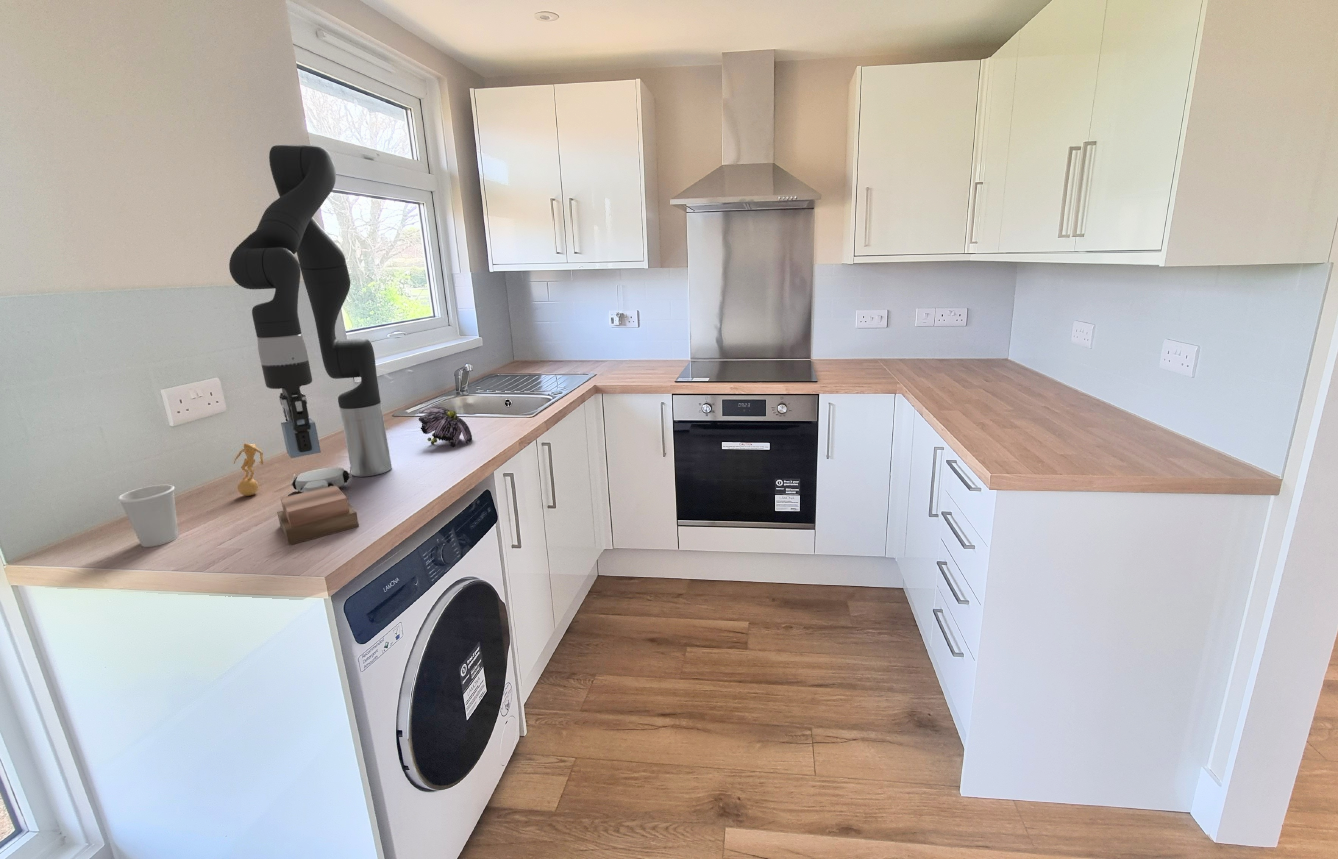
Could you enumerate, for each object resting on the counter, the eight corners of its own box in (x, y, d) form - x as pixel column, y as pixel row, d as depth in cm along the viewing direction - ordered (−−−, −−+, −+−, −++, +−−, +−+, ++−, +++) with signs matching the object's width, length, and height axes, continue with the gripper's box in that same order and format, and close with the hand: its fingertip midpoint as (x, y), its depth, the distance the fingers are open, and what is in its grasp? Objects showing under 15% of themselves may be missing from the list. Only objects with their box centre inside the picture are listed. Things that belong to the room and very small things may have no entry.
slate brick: (287, 452, 118) (280, 422, 117) (316, 447, 121) (310, 418, 120) (291, 458, 114) (284, 427, 113) (321, 452, 117) (315, 422, 116)
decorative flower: (449, 418, 165) (412, 398, 171) (436, 458, 167) (400, 437, 173) (487, 420, 178) (451, 402, 184) (475, 457, 180) (440, 437, 186)
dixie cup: (124, 553, 113) (109, 503, 111) (141, 536, 121) (127, 489, 118) (179, 544, 116) (166, 494, 114) (192, 528, 124) (180, 481, 121)
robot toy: (346, 505, 135) (355, 480, 148) (342, 487, 133) (351, 462, 147) (283, 515, 131) (297, 488, 145) (278, 496, 130) (293, 470, 143)
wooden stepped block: (280, 525, 123) (273, 497, 121) (345, 509, 130) (340, 482, 128) (289, 545, 114) (282, 515, 112) (358, 526, 121) (353, 498, 119)
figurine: (228, 497, 141) (215, 447, 137) (251, 488, 146) (240, 439, 143) (256, 499, 138) (244, 448, 135) (279, 489, 144) (268, 441, 141)
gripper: (314, 361, 110) (332, 451, 114) (301, 354, 121) (318, 437, 125) (265, 367, 106) (286, 460, 110) (256, 359, 116) (275, 445, 121)
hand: (303, 447), depth 118 cm, fingers closed on slate brick, 5 cm apart
